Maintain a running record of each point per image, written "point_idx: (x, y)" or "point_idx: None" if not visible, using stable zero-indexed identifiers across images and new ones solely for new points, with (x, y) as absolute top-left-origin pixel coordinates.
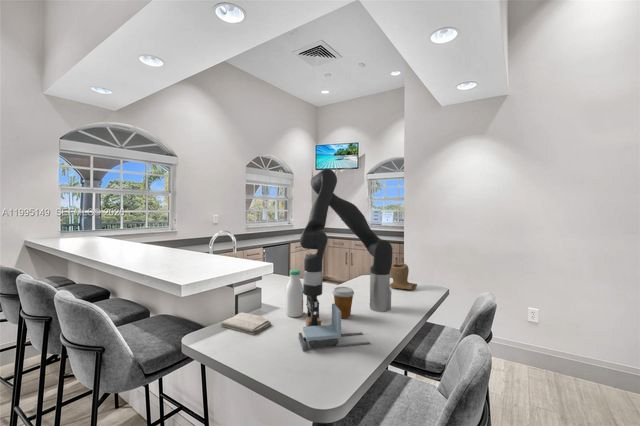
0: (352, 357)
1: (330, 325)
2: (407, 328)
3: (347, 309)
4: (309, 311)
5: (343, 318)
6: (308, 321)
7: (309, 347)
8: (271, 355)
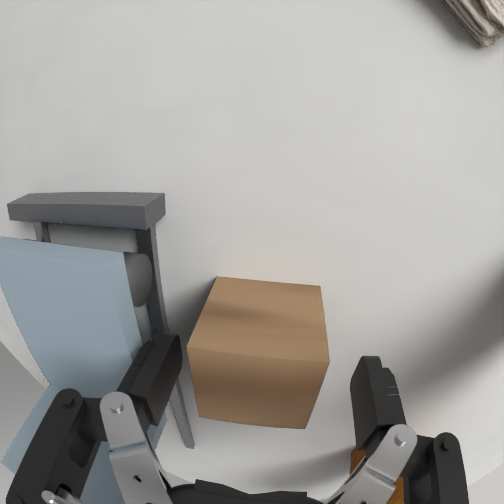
0: None
1: None
2: None
3: None
4: (370, 419)
5: (356, 448)
6: (195, 349)
7: (40, 234)
8: (25, 38)
